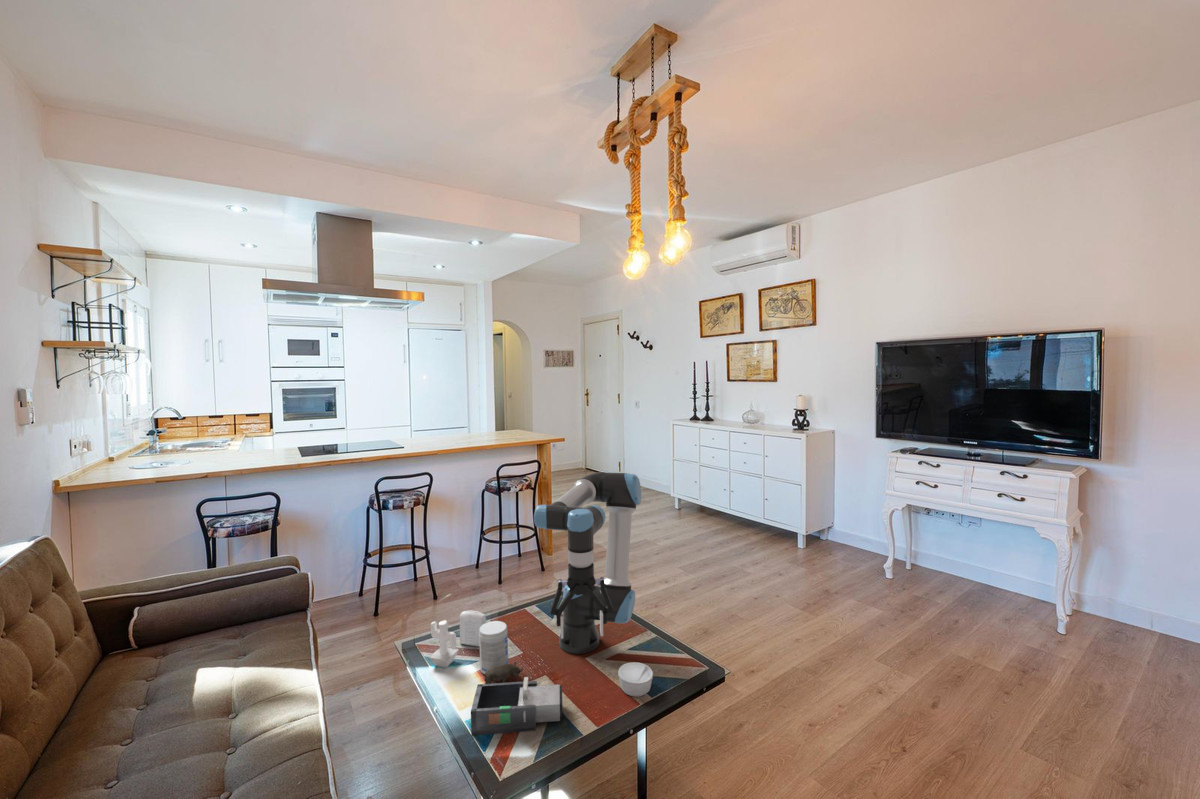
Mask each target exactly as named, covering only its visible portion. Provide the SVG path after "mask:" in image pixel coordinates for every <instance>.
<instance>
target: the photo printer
mask: <svg viewBox="0 0 1200 799" xmlns="http://www.w3.org/2000/svg"><path fill="white" fill-rule="evenodd" d="M485 623H487V616H486V614H484V613H483V612H481V611H476V610H463V611H462V612H461V613H460V614H459V644H463V645H467V646H473V647H480V645H479V630H480V627H481V626H482V625H483V624H485Z"/></svg>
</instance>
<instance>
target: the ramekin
mask: <svg viewBox="0 0 1200 799" xmlns="http://www.w3.org/2000/svg"><path fill="white" fill-rule="evenodd" d="M617 672H618V673H617V675H618V676H617V677H618V679H619V684H620V689H621V690H622V691H623V692H624V693H625V694H626V695H628V696H631V697H641V696H644V695H646V694H647V693H648V692H650V690H651V686H652V682H653V681H652V680H653V678H654V671H653V670H652V669H651V667H650V666H649V665H647V664H645V663H642V662H635V661H633V662H627V663H624V664H622V665H621V666H620V667H619V669H618V671H617Z"/></svg>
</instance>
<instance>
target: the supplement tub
mask: <svg viewBox="0 0 1200 799" xmlns="http://www.w3.org/2000/svg"><path fill="white" fill-rule="evenodd" d="M508 640H509V639H508V625H507V624H506V623H505V622H504V621H500V620H492V621H488V622H486V623H485V624H483V625H482V626H481V627H480V630H479V645H480V646H479V661H480V662H479V665H480V666H479V668H480V672H481V673H482V674H483V675H485V672H486V671H487V670H488V669H490V668H497V667H501V666H503V665H505V664H509V641H508Z"/></svg>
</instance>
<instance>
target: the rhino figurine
mask: <svg viewBox="0 0 1200 799" xmlns="http://www.w3.org/2000/svg"><path fill="white" fill-rule="evenodd" d="M523 670H524V667H522V668H521V667H520V666H519V665H518V666H517V661H515V662H514V663H513V664H512V663H511V664H510V663H508V664H505V665H503V666H501V667H497V668H490V669H488V670H487V671H486V672H485V674H484V682H485V683H484V684H493V682H499V681H501V680H502V682H501V683H507V679H508V678H509V676H510V675H512V676H515V677H517V676H520V674H521V672H522V671H523Z"/></svg>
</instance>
